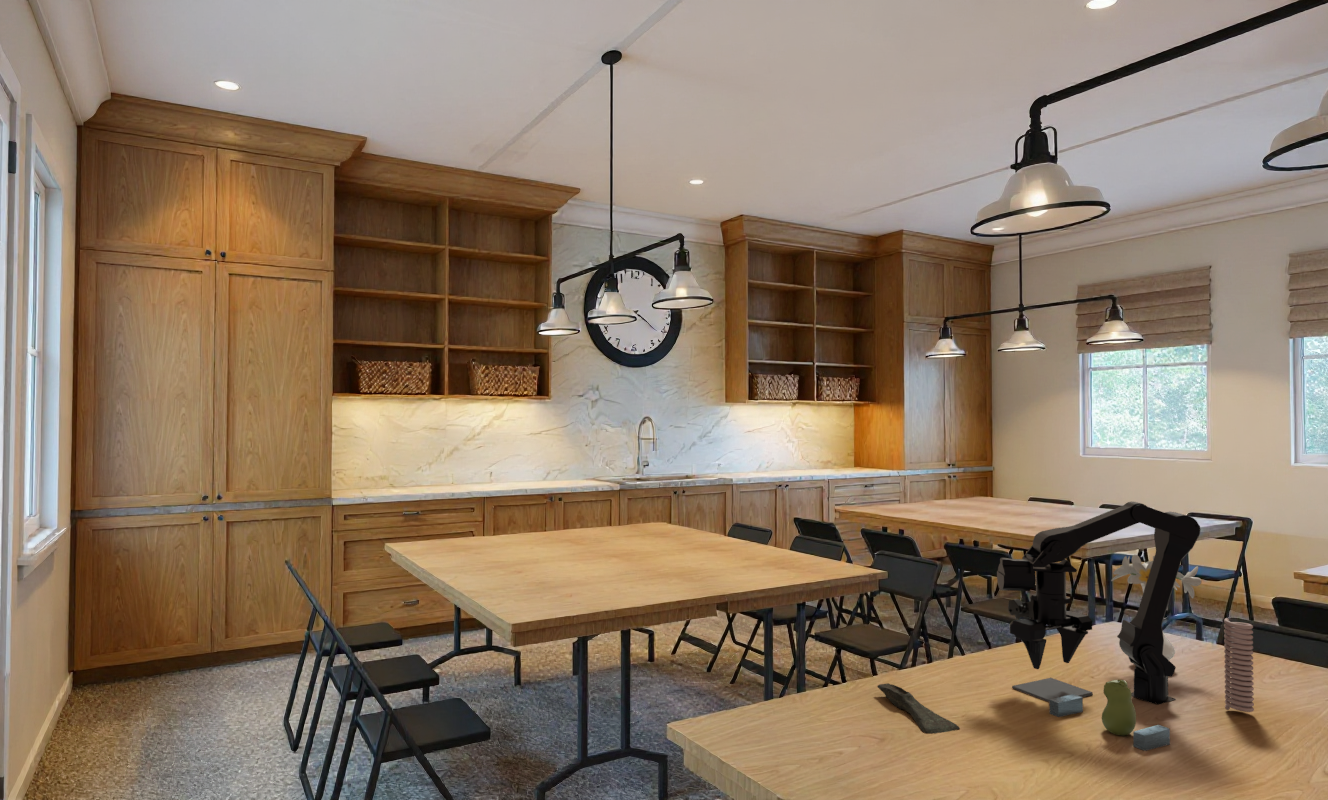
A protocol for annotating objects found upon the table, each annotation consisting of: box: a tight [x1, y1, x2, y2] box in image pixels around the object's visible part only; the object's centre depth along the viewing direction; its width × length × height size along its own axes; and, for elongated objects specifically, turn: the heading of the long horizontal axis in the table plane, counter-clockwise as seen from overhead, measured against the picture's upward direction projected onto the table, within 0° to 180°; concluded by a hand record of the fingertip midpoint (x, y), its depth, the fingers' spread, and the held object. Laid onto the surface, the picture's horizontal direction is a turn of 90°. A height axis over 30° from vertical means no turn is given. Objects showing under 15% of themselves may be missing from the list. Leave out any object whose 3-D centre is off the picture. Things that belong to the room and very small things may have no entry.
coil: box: [1223, 617, 1255, 713], centre depth 156 cm, size 5×5×18 cm
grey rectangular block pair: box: [1048, 694, 1171, 752], centre depth 147 cm, size 7×19×3 cm, turn 25°
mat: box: [1011, 677, 1094, 703], centre depth 167 cm, size 12×10×1 cm
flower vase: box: [1110, 554, 1202, 661], centre depth 186 cm, size 13×18×25 cm
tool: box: [876, 683, 960, 735], centre depth 154 cm, size 21×8×3 cm, turn 18°
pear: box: [1101, 679, 1137, 737], centre depth 145 cm, size 6×5×10 cm
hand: (1051, 665), depth 167 cm, fingers open, 9 cm apart
